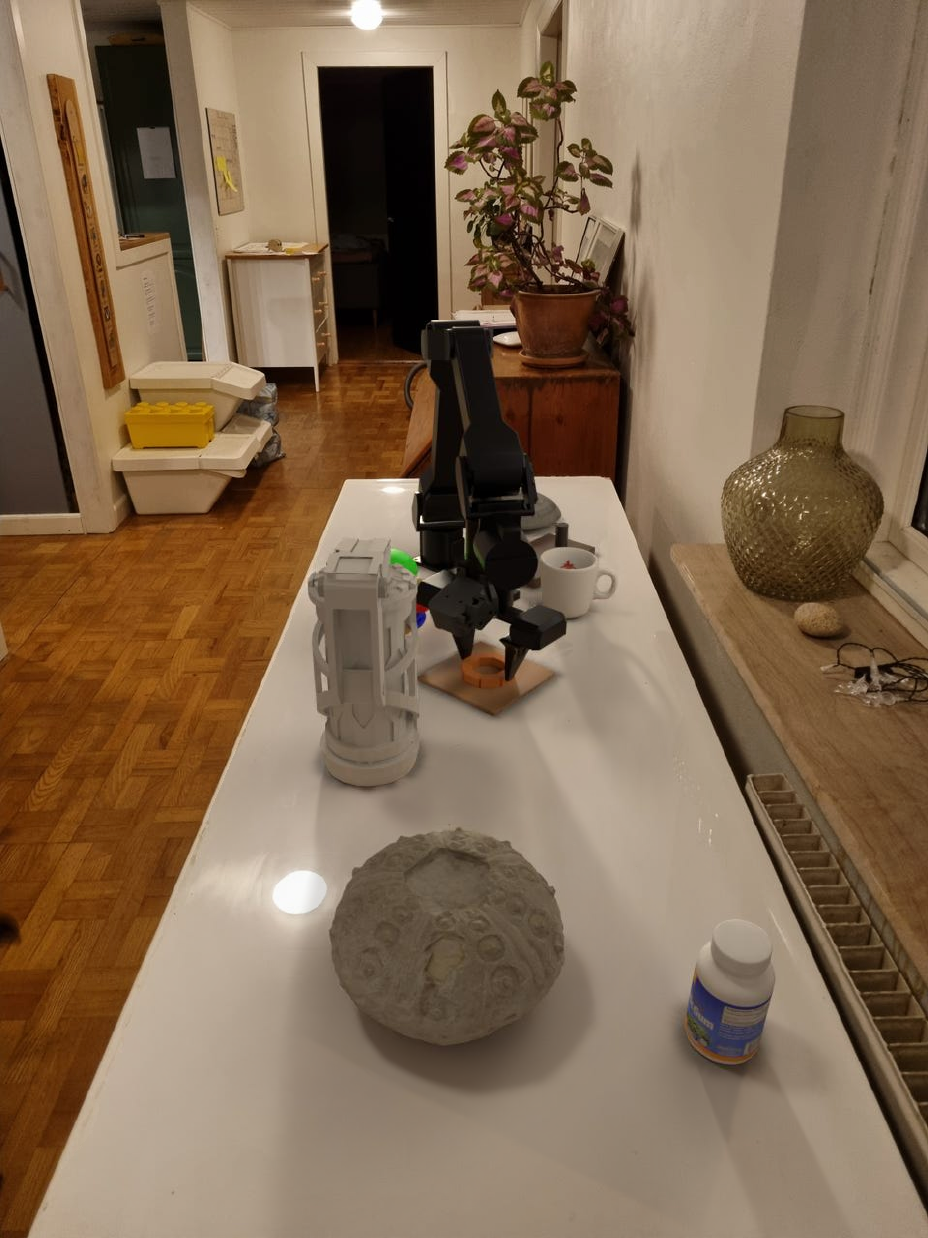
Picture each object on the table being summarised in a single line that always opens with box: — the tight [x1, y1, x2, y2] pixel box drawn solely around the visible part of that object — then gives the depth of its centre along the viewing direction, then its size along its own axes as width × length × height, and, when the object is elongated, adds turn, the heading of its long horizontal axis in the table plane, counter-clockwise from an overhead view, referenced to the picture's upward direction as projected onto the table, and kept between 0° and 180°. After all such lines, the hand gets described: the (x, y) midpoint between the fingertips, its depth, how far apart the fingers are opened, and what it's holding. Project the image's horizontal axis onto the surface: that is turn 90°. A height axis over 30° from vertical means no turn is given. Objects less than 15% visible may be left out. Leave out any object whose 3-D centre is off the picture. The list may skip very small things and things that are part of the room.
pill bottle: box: [684, 918, 776, 1065], centre depth 65 cm, size 5×5×10 cm
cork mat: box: [417, 640, 556, 716], centre depth 112 cm, size 12×12×1 cm
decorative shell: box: [328, 826, 565, 1046], centre depth 70 cm, size 18×18×10 cm
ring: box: [461, 653, 515, 688], centre depth 112 cm, size 6×6×1 cm
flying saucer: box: [502, 488, 562, 531], centre depth 157 cm, size 15×15×6 cm
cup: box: [540, 547, 619, 619], centre depth 127 cm, size 11×8×8 cm
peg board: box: [525, 521, 596, 589], centre depth 141 cm, size 9×16×5 cm, turn 140°
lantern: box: [307, 537, 421, 788], centre depth 90 cm, size 13×10×25 cm
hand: (487, 670), depth 112 cm, fingers closed on ring, 6 cm apart
